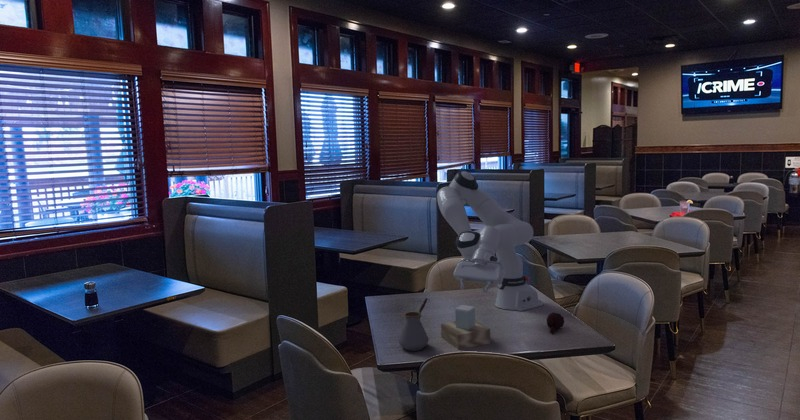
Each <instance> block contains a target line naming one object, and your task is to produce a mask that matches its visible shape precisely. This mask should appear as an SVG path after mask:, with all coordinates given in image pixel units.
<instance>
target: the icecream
mask: <svg viewBox="0 0 800 420" xmlns="http://www.w3.org/2000/svg"><path fill="white" fill-rule="evenodd" d="M565 322H566V321H565V317H564V316H563V315H562V314H561V313H558V312H557V313H556V312H551V313H549V314H548V315H547V318H546V326H547V327H548V328H550V334H551V335H553V334H555V332H556V331H557V330H560V329H561V328H563V327H564V324H565Z"/></svg>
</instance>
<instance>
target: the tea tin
mask: <svg viewBox="0 0 800 420" xmlns="http://www.w3.org/2000/svg"><path fill="white" fill-rule="evenodd" d="M454 311H455V312H454V313H455V321H456V328H462V329H468V330H469V329H471V328H472V327H473V326H475V321H476V307H475V306H472V305H466V304H461V305H459V306H457V307H455V310H454Z"/></svg>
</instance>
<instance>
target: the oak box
mask: <svg viewBox="0 0 800 420" xmlns="http://www.w3.org/2000/svg"><path fill="white" fill-rule="evenodd" d="M440 336H441V339H442V340H444V341H446V342H447V343H448V344H450V345H451V346H453V347H454V348H456V349H457V350H462V349H468V348H472V347H473V348H474V347H478V346H483V345H488V344H491V328H489V327H487V326H485V325H484V324H483V323H481V322H479V321H477V320H475V326H473V327H472V328H471V329H469V330H468V329H462V328H456V320H455V321H454V320H453V321H450V322H444V323H440Z"/></svg>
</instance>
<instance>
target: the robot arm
mask: <svg viewBox="0 0 800 420" xmlns="http://www.w3.org/2000/svg"><path fill="white" fill-rule="evenodd" d="M436 200H437V204H438V205H437V206H438V209H439V211H440V213H441V215H442V217H443V218H444V220H446V223H448V224H449V226H451V228H452V229H453V230H454V232H455V233H456V234H457V235H458V236H457V237H456V240H455V246H456V248H457V250H458V251H459V252H460V254H461V256H462V257H463V258H462V259H460V260H459V261H458V262H457V264H456V267H455V268H454V271H453V277H454V279H455V280H456V281H459V282H460V288H459V289H460V290H462V291H463V290H464V291H465V290H466V289H467V286H466V284H464V283H465V282H471V283H472V282H473V283H482V284H486V285H485V286H483V287H482V289H481V291H482V292H483V293H486V294H487V293H488V291H489V289H490V288H492V287H493V285H496V286H497V294H496V299H495V304H494V306H495V307H497V308H499V309H503V310H512V311H519V312H522V311H523V312H524V311H526V310H531V309H534V308H538V307H542V306H544V301H542V300H541V299H539V295H538V294H539V293H538V292H537V290H536V289H534V288H533V287H532V286H531V285H529V284H528V283H527V282H530V281H531V278H530V277H529V276H527V275H526V276H525V275H524V274H523V269H524V268H523V267H524V266H523V265H524V264H523V263H524V262H523V259H522V257H520V255H517V252H516V246H517V247H518V246H521V245H522V246H523V245H525V244H527V243H528V242H530V241H531V240H532V239H533V237H534V228H533V226H532V225H531V224H530V223H529V222H526V221H523V220H521V219H519V218H518V217H515V216H514V215H512V214H511V213H509V212H507V211H506V210H505V209H504V208H503V207H501V205H500V204H499V203H497V201H496V200H495V199H494V198H493V197H492V196H491V195H490V194H488V193H487V192H486V191H484V190H483V189H481V188H479V184H478V182H477V179H476V177H475V175H474V174H472V173H471V172H469V171H466V170H460V171H458V172H456V174H455V175H454V177H453V179H452V181H451V182H450V183H449V185H447V186H443V187H441V188H439V190H438V191H437V193H436ZM466 204H468V205H469V207H470V208H471V210H472V212H474V214H475V215H476V217H478V218H479V220H480V221H481V222H482V223H483V224H484V226H482V227H481V228H480V229H475V230H472V228H471V224H470V221H469V217H468V214H467V210H466V207H465V205H466ZM526 281H527V282H526Z"/></svg>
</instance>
